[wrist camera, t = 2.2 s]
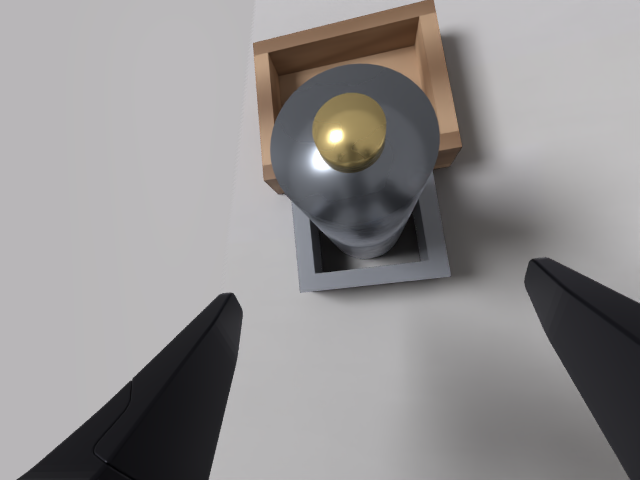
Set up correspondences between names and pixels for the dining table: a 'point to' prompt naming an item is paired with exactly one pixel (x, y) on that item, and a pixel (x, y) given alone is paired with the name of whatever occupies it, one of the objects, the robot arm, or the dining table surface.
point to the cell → (356, 154)
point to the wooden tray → (352, 48)
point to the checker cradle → (427, 268)
